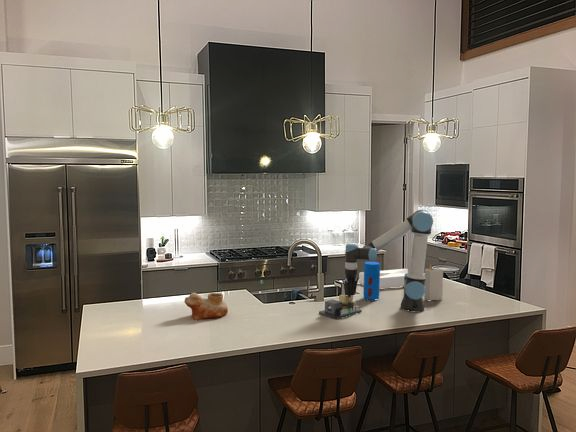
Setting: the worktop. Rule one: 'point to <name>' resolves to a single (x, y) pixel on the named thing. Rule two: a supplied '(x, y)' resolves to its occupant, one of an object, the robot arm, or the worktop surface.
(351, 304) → the pointer
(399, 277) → the bread box
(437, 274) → the beige tall box
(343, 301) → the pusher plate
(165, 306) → the worktop surface
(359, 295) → the worktop surface
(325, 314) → the circuit board
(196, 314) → the ceramic vessel
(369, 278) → the thermos
